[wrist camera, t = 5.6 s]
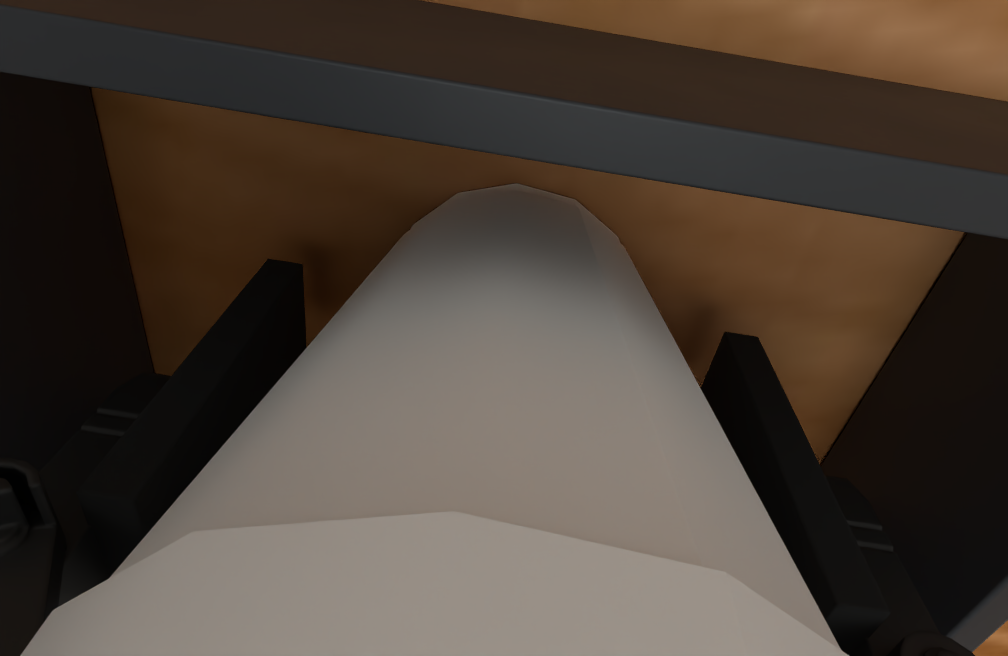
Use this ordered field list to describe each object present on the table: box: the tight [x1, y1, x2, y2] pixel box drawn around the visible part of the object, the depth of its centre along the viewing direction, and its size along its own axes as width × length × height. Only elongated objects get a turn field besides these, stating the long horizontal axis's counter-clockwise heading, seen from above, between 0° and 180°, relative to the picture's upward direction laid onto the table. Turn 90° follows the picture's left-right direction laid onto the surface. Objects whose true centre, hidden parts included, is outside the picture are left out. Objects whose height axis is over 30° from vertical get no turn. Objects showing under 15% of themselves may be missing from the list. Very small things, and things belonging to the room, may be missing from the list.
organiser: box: [0, 0, 1008, 652], centre depth 13 cm, size 22×13×6 cm, turn 82°
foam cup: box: [20, 183, 849, 656], centre depth 11 cm, size 10×9×13 cm
